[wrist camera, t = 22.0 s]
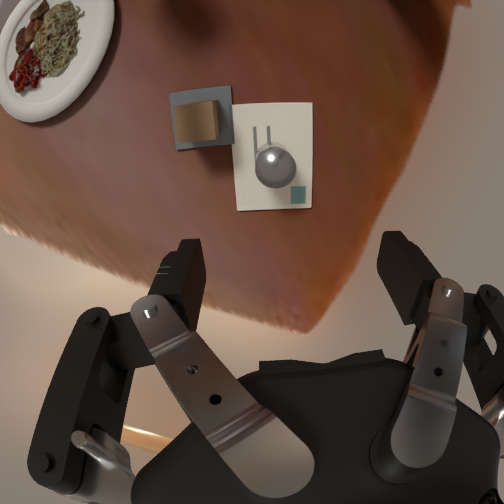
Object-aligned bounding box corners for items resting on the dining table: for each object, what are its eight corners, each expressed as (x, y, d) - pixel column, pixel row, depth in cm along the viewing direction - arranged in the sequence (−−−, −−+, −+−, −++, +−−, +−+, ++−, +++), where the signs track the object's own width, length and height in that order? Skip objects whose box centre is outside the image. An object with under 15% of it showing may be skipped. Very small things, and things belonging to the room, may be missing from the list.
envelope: (311, 102, 36) (312, 102, 36) (310, 206, 45) (311, 207, 45) (228, 105, 37) (228, 105, 36) (237, 209, 46) (237, 210, 46)
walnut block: (217, 99, 36) (212, 101, 31) (220, 132, 38) (215, 139, 33) (183, 103, 36) (173, 106, 31) (187, 135, 39) (177, 143, 34)
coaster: (230, 85, 35) (230, 85, 35) (235, 143, 40) (235, 144, 40) (169, 93, 35) (169, 93, 35) (176, 149, 40) (176, 149, 40)
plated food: (149, -27, 23) (142, -33, 20) (84, 136, 38) (74, 140, 35) (30, -23, 16) (20, -25, 14) (-12, 108, 31) (-23, 112, 28)
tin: (290, 140, 39) (296, 148, 34) (291, 174, 42) (296, 187, 37) (253, 141, 39) (253, 150, 34) (255, 175, 42) (256, 189, 37)
